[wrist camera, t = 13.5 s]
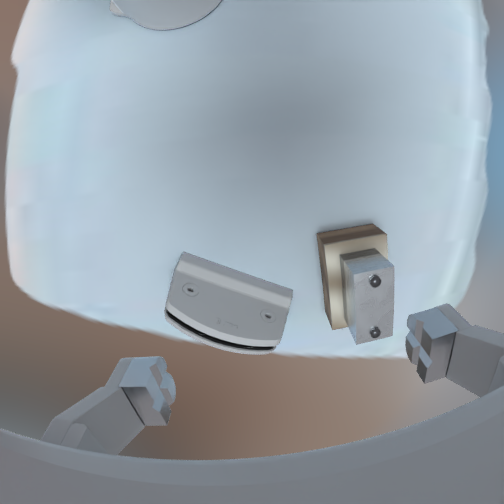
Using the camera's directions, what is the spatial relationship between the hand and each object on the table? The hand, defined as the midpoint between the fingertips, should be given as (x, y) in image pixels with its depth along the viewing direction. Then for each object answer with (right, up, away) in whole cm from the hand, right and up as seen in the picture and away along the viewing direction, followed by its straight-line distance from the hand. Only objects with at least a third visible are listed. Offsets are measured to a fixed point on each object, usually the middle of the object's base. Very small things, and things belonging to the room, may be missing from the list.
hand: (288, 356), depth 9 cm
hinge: (-4, -3, +34) cm, 35 cm away
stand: (+12, +1, +33) cm, 35 cm away
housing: (+12, -1, +28) cm, 30 cm away
